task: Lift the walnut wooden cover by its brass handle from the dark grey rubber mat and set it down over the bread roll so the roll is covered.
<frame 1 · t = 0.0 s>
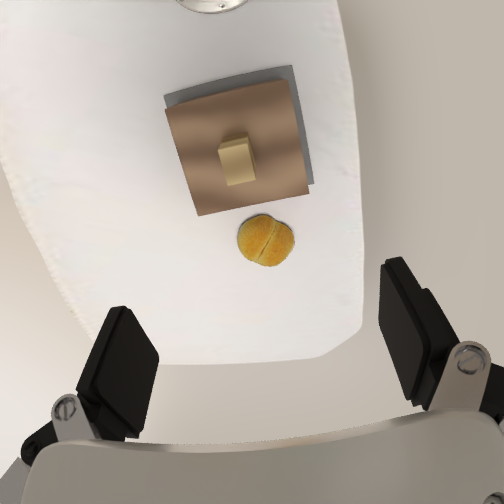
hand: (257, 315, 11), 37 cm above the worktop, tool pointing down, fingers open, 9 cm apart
rubber mat: (241, 137, 43), on the worktop
bread roll: (265, 237, 52), on the worktop
bread cover: (241, 138, 43), resting on rubber mat
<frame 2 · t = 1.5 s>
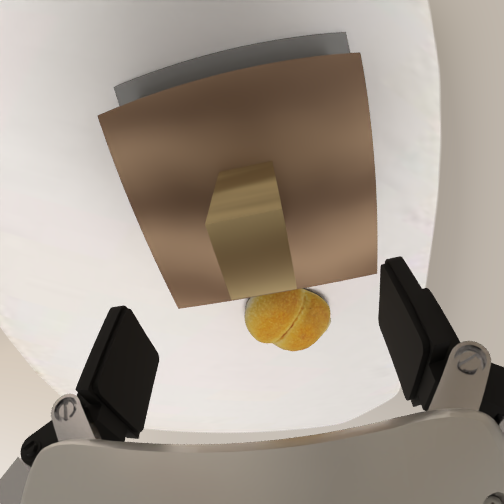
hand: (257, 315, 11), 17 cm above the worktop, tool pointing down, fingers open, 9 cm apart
rubber mat: (252, 158, 25), on the worktop
bread roll: (287, 308, 34), on the worktop
bread cover: (252, 160, 24), resting on rubber mat
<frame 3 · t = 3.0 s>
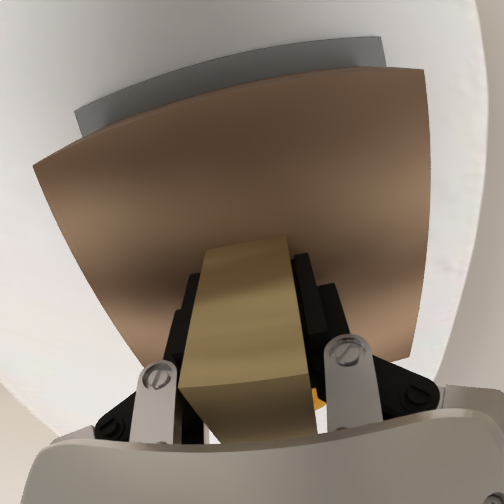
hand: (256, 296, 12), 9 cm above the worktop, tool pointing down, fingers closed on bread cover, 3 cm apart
rubber mat: (255, 204, 19), on the worktop
bread cover: (255, 207, 19), resting on rubber mat, touching gripper
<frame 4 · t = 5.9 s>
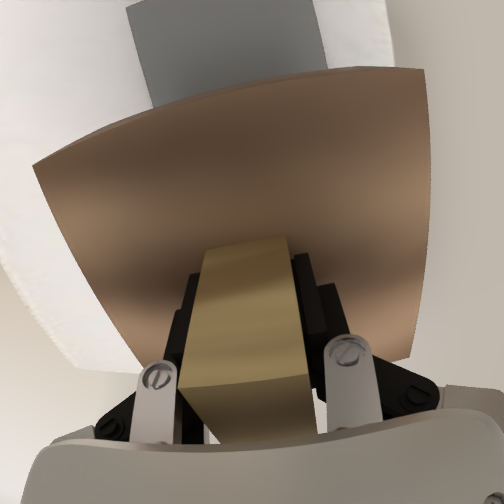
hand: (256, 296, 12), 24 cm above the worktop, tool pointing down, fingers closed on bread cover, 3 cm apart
rubber mat: (231, 55, 27), on the worktop
bread cover: (255, 207, 19), point 16 cm above the worktop, touching gripper
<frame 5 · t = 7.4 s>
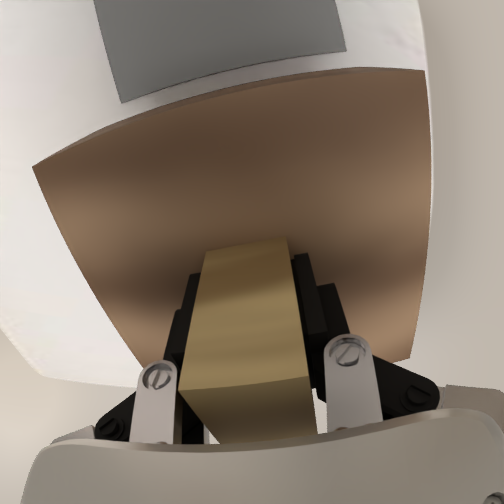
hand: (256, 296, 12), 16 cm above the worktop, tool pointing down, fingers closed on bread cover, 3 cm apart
bread cover: (255, 208, 19), point 8 cm above the worktop, touching gripper
when the fingers open (9 cm above the worktop, at t = 8.7 s): bread cover drops 1 cm, on the worktop.
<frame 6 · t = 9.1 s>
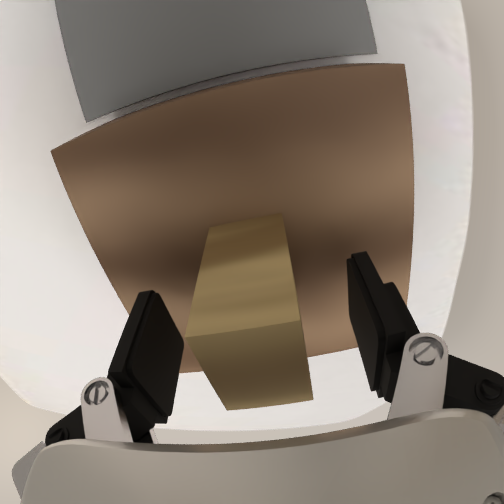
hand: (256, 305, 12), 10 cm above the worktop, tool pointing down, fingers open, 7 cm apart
bread cover: (254, 195, 20), on the worktop
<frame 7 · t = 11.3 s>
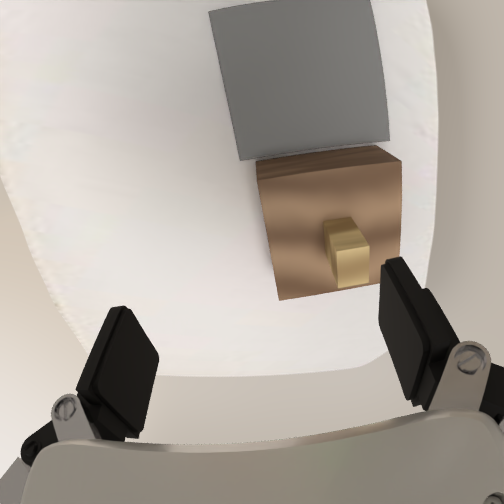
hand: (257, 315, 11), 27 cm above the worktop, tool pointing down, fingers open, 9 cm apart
rubber mat: (305, 71, 30), on the worktop
bread cover: (324, 208, 39), on the worktop
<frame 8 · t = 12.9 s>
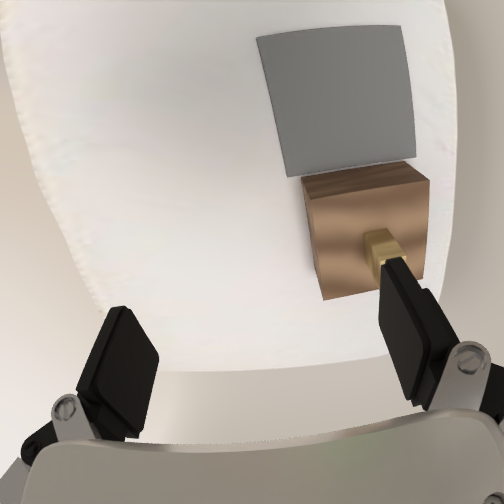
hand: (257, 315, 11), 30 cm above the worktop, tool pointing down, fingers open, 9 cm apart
rubber mat: (345, 96, 34), on the worktop
bread cover: (359, 217, 43), on the worktop
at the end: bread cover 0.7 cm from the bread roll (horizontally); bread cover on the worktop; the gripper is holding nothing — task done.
